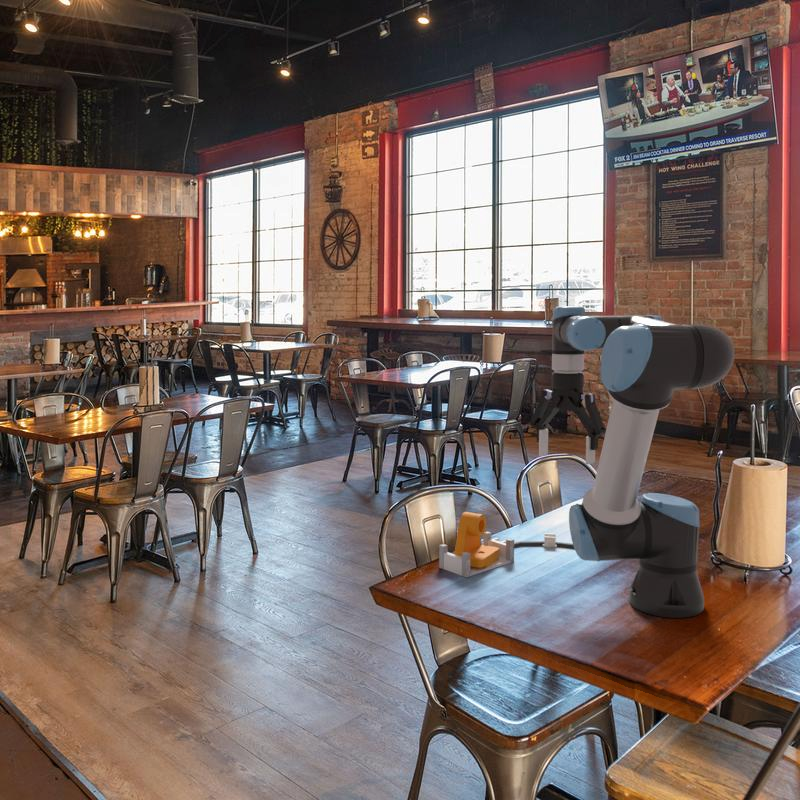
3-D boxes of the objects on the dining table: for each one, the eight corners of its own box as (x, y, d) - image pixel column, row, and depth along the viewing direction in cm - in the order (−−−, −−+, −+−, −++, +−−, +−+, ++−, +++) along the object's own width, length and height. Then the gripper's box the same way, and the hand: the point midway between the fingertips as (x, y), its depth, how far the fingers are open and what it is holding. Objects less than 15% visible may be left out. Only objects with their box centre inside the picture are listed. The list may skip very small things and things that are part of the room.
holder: (514, 561, 205) (514, 539, 204) (465, 577, 195) (466, 554, 194) (487, 552, 212) (487, 531, 211) (439, 567, 201) (439, 545, 201)
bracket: (481, 571, 197) (481, 521, 195) (453, 566, 201) (453, 517, 199) (500, 558, 206) (500, 510, 204) (473, 553, 210) (474, 506, 208)
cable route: (577, 548, 215) (577, 538, 215) (490, 553, 211) (490, 543, 211) (568, 540, 221) (568, 531, 221) (484, 546, 217) (484, 536, 217)
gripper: (622, 373, 193) (620, 464, 196) (535, 367, 211) (534, 450, 214) (604, 376, 188) (602, 469, 191) (516, 369, 206) (515, 454, 209)
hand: (566, 459), depth 202 cm, fingers open, 13 cm apart
